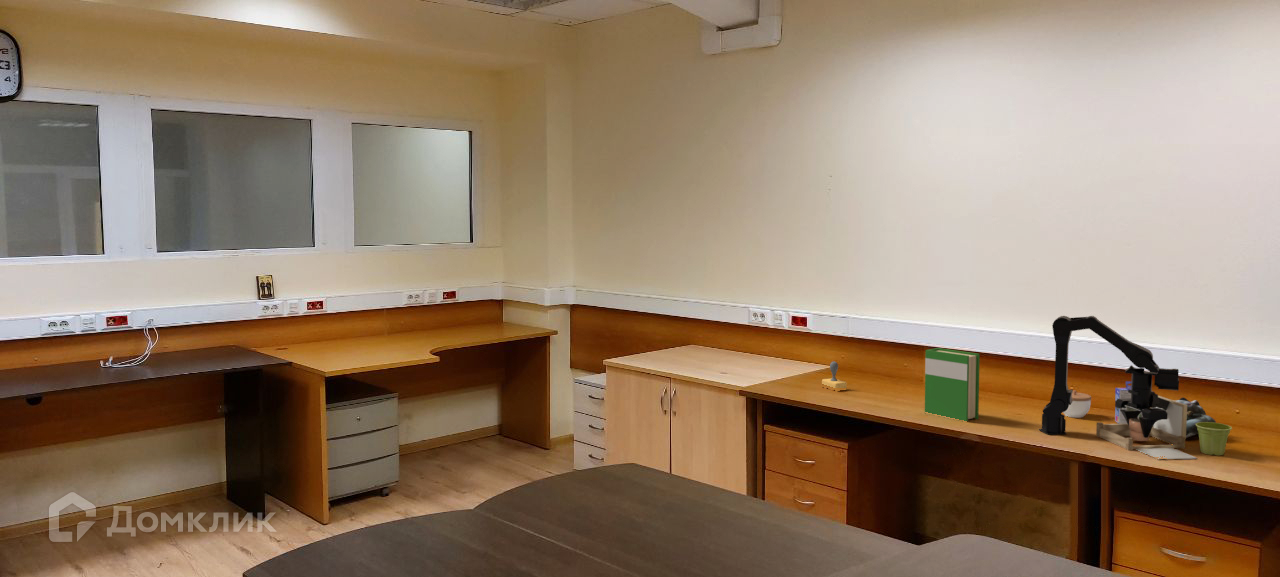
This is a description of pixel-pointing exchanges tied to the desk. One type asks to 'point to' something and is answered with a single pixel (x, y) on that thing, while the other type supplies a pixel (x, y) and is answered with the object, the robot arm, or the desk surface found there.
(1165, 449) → the stone tile
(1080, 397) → the lidded jar
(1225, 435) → the plant pot
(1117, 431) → the frame
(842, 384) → the rubber stamp
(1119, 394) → the ink cartridge box
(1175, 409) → the lid pane
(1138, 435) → the seedling pot
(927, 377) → the hardback book
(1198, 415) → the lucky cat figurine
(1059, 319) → the robot arm
